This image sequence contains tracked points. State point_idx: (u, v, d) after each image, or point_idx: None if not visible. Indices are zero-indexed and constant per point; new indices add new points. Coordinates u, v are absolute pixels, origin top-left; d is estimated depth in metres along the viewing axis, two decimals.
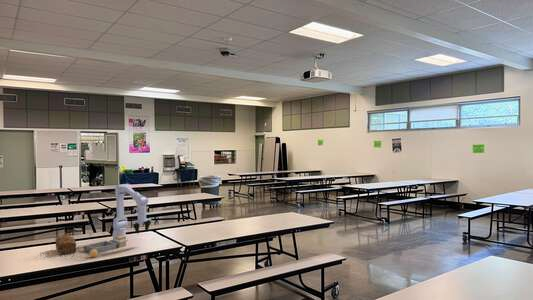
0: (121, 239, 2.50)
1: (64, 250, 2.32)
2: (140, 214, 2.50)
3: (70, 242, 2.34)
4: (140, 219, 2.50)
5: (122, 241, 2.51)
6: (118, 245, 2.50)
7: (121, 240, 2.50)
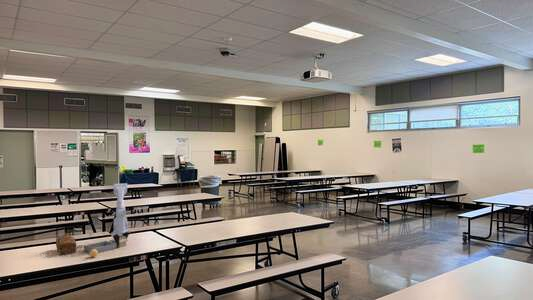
0: (121, 239, 2.50)
1: (64, 250, 2.32)
2: (119, 226, 2.50)
3: (70, 242, 2.34)
4: (119, 231, 2.50)
5: (122, 241, 2.51)
6: (118, 245, 2.50)
7: (121, 240, 2.50)
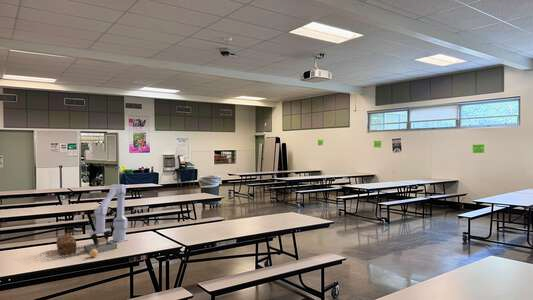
0: (101, 241, 2.42)
1: (64, 250, 2.32)
2: (98, 225, 2.41)
3: (70, 242, 2.34)
4: (98, 230, 2.41)
5: (102, 244, 2.42)
6: None
7: (101, 242, 2.42)
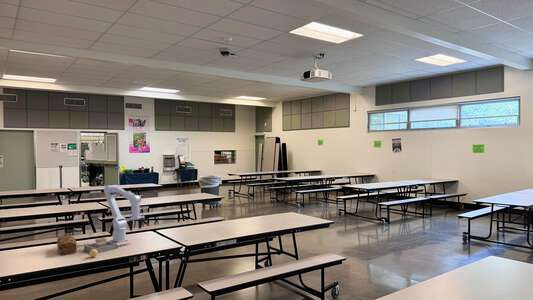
0: (101, 241, 2.42)
1: (64, 250, 2.32)
2: (133, 212, 2.60)
3: (70, 242, 2.34)
4: (134, 217, 2.59)
5: (102, 244, 2.42)
6: None
7: (101, 242, 2.42)
